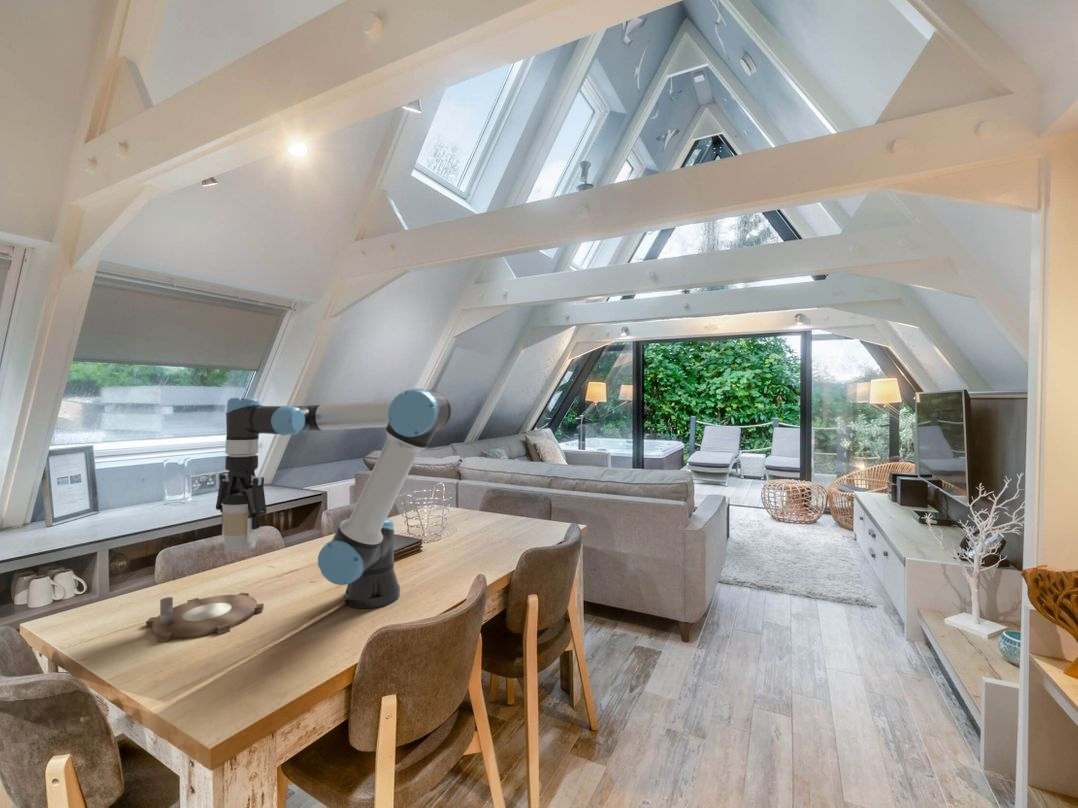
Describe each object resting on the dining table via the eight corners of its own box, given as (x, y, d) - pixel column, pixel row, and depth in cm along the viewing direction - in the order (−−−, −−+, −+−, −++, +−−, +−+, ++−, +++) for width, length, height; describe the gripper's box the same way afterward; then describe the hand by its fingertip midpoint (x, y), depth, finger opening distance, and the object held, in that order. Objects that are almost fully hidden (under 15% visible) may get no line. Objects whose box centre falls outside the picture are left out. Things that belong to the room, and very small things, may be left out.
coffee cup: (239, 554, 124) (241, 496, 124) (211, 550, 126) (212, 493, 126) (267, 544, 133) (268, 490, 133) (240, 541, 135) (241, 487, 135)
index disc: (239, 591, 140) (239, 566, 140) (274, 616, 124) (274, 587, 124) (139, 618, 123) (139, 589, 123) (165, 651, 107) (165, 618, 107)
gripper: (283, 456, 129) (281, 540, 129) (227, 451, 136) (225, 530, 137) (258, 459, 122) (256, 547, 122) (200, 453, 129) (198, 537, 130)
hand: (240, 538), depth 129 cm, fingers closed on coffee cup, 9 cm apart
